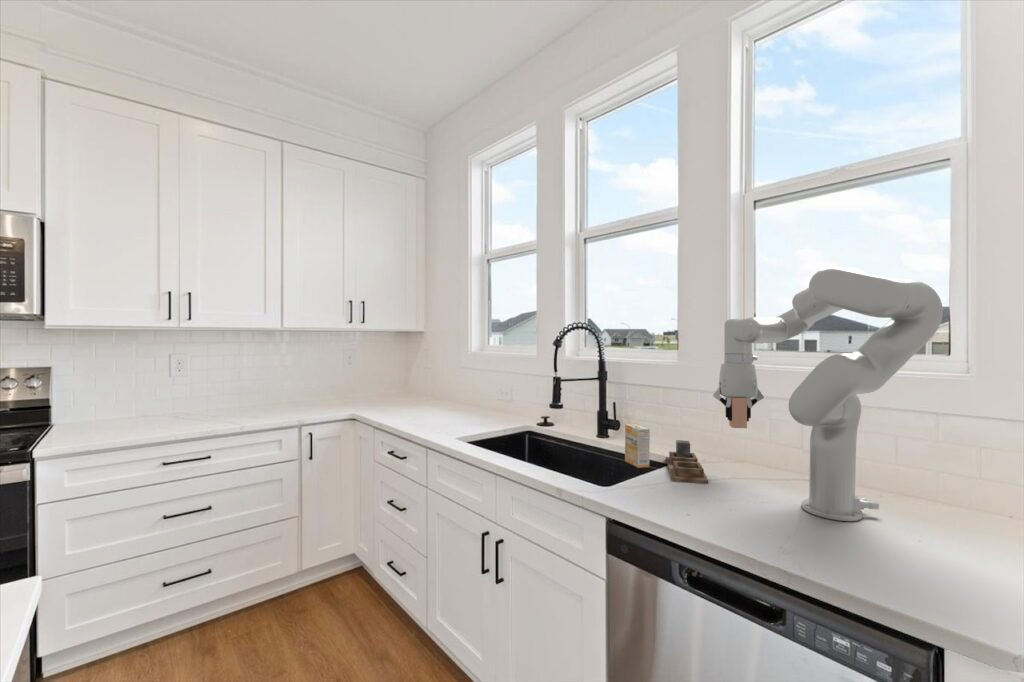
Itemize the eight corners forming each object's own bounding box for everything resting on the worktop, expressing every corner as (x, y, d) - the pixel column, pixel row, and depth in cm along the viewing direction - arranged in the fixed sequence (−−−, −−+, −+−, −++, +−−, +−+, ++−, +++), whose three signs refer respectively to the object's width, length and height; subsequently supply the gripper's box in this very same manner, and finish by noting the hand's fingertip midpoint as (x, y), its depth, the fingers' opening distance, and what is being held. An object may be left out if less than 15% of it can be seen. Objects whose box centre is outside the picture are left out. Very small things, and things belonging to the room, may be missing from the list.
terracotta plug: (743, 425, 143) (743, 396, 143) (746, 428, 139) (746, 398, 139) (729, 425, 144) (729, 396, 144) (732, 427, 140) (732, 397, 140)
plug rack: (696, 461, 162) (696, 438, 161) (708, 483, 138) (708, 456, 138) (665, 459, 164) (665, 437, 164) (672, 481, 141) (672, 454, 140)
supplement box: (624, 461, 162) (624, 423, 161) (636, 460, 163) (636, 423, 163) (637, 468, 154) (637, 428, 154) (650, 467, 155) (650, 427, 155)
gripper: (764, 359, 143) (764, 419, 143) (706, 358, 147) (706, 417, 147) (772, 360, 136) (772, 423, 136) (710, 360, 140) (710, 421, 140)
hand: (738, 419), depth 141 cm, fingers closed on terracotta plug, 4 cm apart
